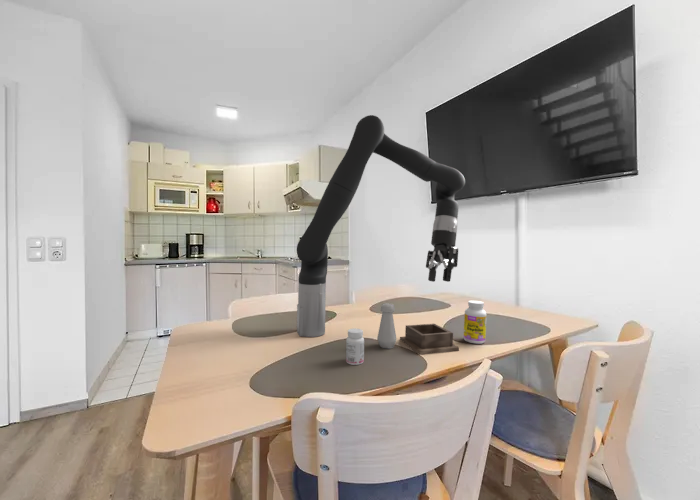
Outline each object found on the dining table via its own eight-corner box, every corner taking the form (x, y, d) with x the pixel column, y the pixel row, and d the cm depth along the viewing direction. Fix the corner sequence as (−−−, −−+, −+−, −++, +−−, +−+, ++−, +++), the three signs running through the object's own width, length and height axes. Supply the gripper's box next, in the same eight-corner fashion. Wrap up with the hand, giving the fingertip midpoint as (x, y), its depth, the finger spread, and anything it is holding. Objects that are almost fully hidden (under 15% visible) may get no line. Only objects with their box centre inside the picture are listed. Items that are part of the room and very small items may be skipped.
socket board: (419, 354, 90) (420, 337, 90) (399, 339, 103) (400, 324, 103) (458, 350, 94) (459, 333, 94) (435, 337, 107) (435, 322, 106)
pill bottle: (359, 357, 87) (360, 327, 87) (366, 364, 83) (367, 332, 83) (343, 359, 86) (344, 328, 85) (349, 366, 81) (350, 333, 81)
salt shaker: (395, 350, 93) (396, 306, 93) (376, 348, 94) (377, 305, 94) (396, 343, 99) (397, 302, 98) (378, 342, 100) (379, 301, 100)
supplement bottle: (462, 342, 102) (464, 302, 101) (463, 336, 108) (465, 299, 107) (485, 345, 99) (487, 304, 98) (485, 339, 105) (486, 300, 105)
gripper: (423, 232, 109) (417, 279, 107) (447, 225, 95) (440, 279, 93) (442, 237, 111) (436, 283, 109) (468, 230, 97) (462, 283, 95)
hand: (438, 281), depth 101 cm, fingers open, 8 cm apart
